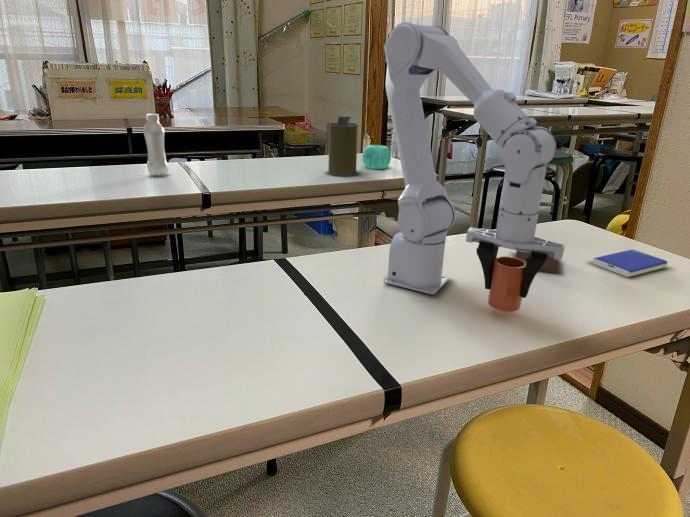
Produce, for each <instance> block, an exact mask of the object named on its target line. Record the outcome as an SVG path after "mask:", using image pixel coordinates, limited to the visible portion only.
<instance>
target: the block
mask: <svg viewBox="0 0 690 517" xmlns="http://www.w3.org/2000/svg"><path fill="white" fill-rule="evenodd" d="M530 254H531V253H528V252H523V251H518V250H515V256H514V257H515V258H519V259H522V260H524V261H525V262H526V261H527V258H528V257H529V255H530ZM559 261H560V260H556V259H554V258H553V257H549V256H548V258H547V260H546V261H545V263H544V264H543V266H542V267H541V268H540V270H539V271H538V272H543V273H544V272H545V273H551V274H557V270H558V264H559Z"/></svg>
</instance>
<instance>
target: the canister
mask: <svg viewBox="0 0 690 517" xmlns="http://www.w3.org/2000/svg"><path fill="white" fill-rule="evenodd" d="M350 119H352V116H349V115H340V116H338V118H337V122H336V121H335V122H333V121H329V122H327V124H326V129H327V130H326V155H328V166H327V167H328V169H327V174H328V175H330V176H334V177H353V176H355V175H357V162H358V161H357V158H358V157H357V156H358V133H359V132H358V131H359V124H358V123H355V122H350Z"/></svg>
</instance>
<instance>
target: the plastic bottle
mask: <svg viewBox="0 0 690 517" xmlns="http://www.w3.org/2000/svg"><path fill="white" fill-rule="evenodd" d="M146 121H147V122H146V123H145V125H144V127H143V131H142V132H143V136H144V140H145V145H146V150H147V171H148V174H149V175H151V176H156V177H160V176H165V175H168V173H169V163H168V161H167V156H166V151H165V150H166V149H165V132H166V131H165V129H164V127H163V125H162V124H161V123H160V116H159V113H146Z"/></svg>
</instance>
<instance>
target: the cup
mask: <svg viewBox="0 0 690 517" xmlns="http://www.w3.org/2000/svg"><path fill="white" fill-rule="evenodd" d="M515 257H516V256H506V255H505V256H497V257H496V258H495V259H494V263H493V270H492V276H491V283H490V289H489V290H488V297H487V304H488V306H489V307H491V308H492V309H494V310H497V311H500V312H504V313H505V312H507V313H511V312H512V313H513V312H517V311H519V310H520V309H521V307H522V306H521V305H522V301H523V298H522V297H521V291H522V287H523V283H524V279H525V272H526V262H525V261H524V260H522V259H519V258H515Z"/></svg>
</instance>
